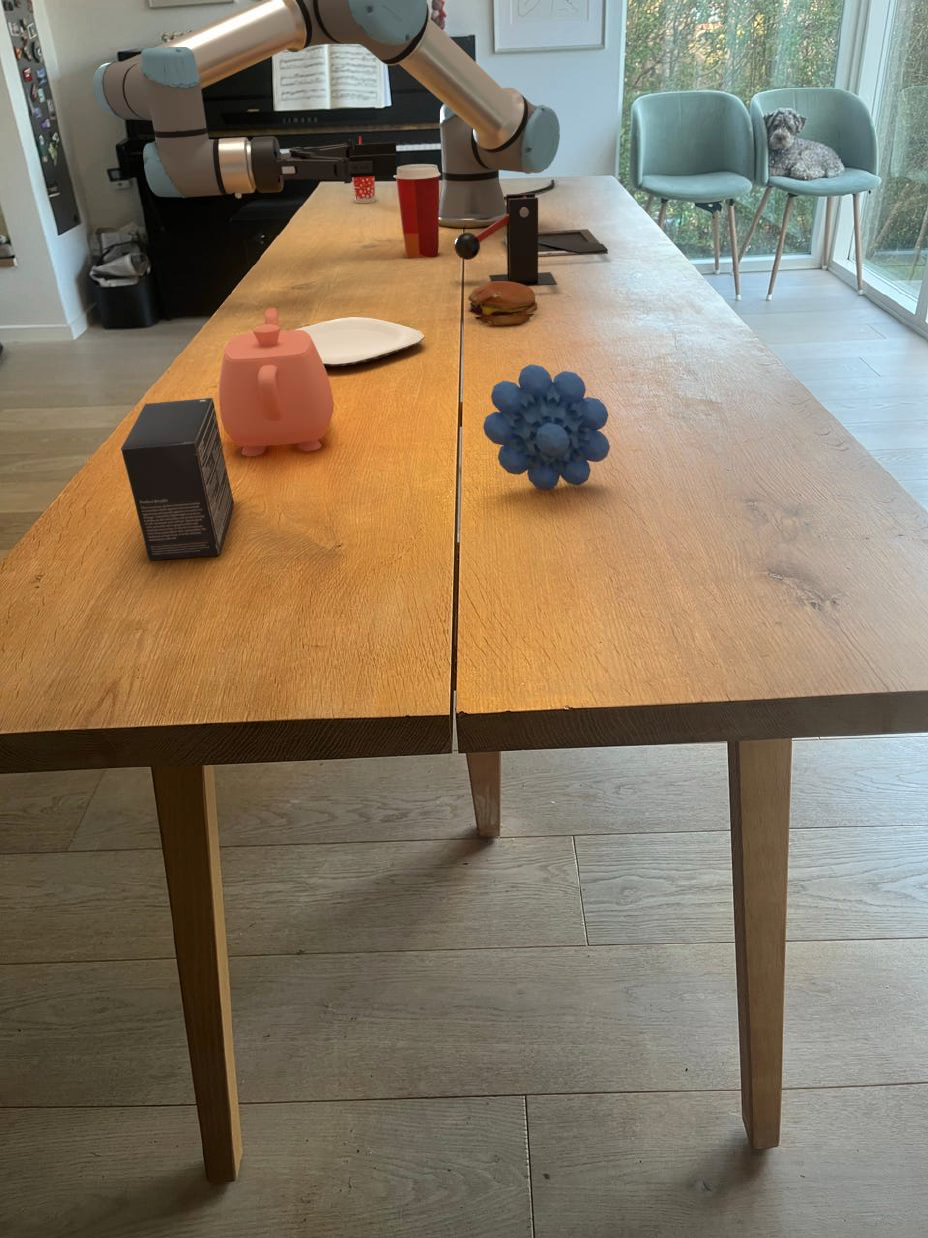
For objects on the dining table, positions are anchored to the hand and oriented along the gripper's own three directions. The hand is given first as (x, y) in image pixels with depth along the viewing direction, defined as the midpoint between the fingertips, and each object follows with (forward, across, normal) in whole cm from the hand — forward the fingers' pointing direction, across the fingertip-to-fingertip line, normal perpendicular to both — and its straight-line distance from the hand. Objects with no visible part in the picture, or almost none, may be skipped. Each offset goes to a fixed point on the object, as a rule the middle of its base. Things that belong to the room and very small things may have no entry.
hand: (396, 157), depth 147 cm
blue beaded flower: (+13, +77, -20) cm, 81 cm away
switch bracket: (+19, 0, -20) cm, 27 cm away
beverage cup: (-9, -91, -20) cm, 94 cm away
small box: (-20, +81, -20) cm, 86 cm away
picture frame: (+27, -26, -20) cm, 43 cm away
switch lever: (+15, 0, -12) cm, 20 cm away
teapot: (-14, +59, -20) cm, 64 cm away
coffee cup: (+3, -28, -20) cm, 35 cm away
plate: (-8, +28, -20) cm, 36 cm away
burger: (+14, +17, -20) cm, 30 cm away
